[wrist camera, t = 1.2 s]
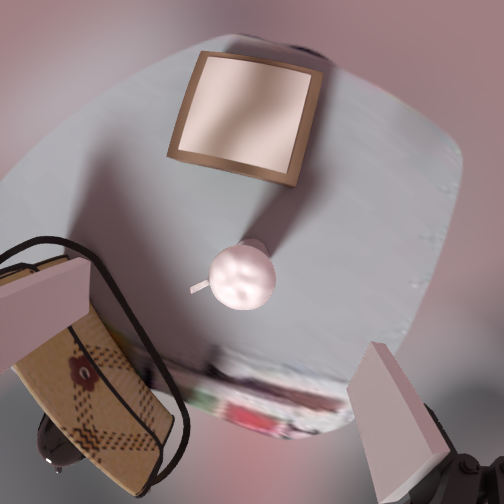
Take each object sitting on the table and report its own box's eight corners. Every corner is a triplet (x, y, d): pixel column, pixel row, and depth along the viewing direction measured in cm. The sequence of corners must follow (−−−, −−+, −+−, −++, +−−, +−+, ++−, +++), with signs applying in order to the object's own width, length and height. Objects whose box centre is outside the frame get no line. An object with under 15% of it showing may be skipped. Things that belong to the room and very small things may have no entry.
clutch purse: (210, 416, 31) (183, 507, 16) (171, 425, 32) (136, 503, 18) (83, 217, 27) (-20, 236, 13) (53, 245, 28) (-37, 273, 14)
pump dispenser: (73, 407, 34) (30, 457, 19) (66, 365, 32) (8, 418, 17) (121, 433, 34) (84, 494, 19) (119, 394, 32) (67, 464, 17)
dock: (181, 161, 25) (165, 155, 21) (210, 68, 23) (200, 49, 19) (292, 188, 25) (296, 185, 21) (317, 89, 23) (324, 71, 18)
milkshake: (217, 234, 26) (184, 255, 16) (273, 229, 26) (272, 248, 16) (222, 279, 27) (195, 323, 17) (277, 275, 27) (278, 319, 17)
